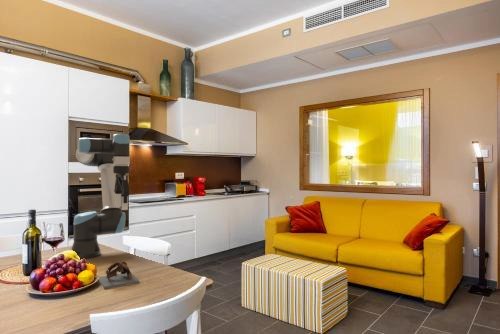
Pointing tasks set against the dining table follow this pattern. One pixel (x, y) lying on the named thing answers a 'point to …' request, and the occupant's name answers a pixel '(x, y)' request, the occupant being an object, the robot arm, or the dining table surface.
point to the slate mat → (117, 280)
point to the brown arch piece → (118, 269)
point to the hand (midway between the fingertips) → (121, 208)
